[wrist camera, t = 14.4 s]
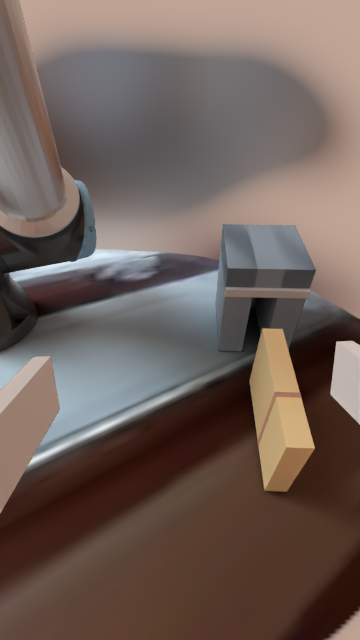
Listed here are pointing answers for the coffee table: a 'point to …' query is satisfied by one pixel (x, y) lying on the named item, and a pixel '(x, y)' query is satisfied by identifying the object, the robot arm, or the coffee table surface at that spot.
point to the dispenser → (260, 281)
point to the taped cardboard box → (278, 413)
